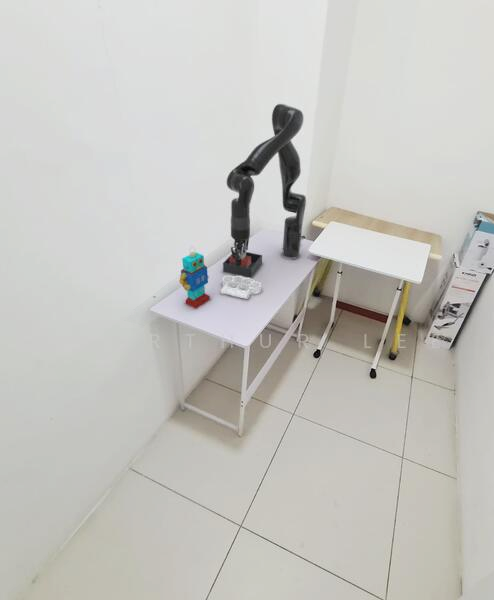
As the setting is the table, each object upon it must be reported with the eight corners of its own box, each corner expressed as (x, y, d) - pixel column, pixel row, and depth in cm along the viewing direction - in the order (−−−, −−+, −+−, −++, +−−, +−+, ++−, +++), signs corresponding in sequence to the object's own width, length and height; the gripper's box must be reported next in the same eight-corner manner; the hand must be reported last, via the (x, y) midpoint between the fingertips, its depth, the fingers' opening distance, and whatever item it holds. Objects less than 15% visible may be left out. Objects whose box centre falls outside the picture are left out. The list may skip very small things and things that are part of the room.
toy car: (229, 265, 140) (229, 254, 138) (233, 260, 144) (233, 249, 141) (247, 269, 139) (247, 258, 136) (251, 264, 143) (251, 253, 140)
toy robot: (192, 310, 134) (186, 255, 119) (181, 304, 136) (174, 250, 122) (212, 297, 142) (209, 244, 128) (202, 292, 145) (197, 239, 130)
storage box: (235, 258, 172) (235, 249, 169) (261, 264, 169) (262, 255, 166) (223, 272, 159) (222, 263, 157) (251, 278, 157) (251, 269, 154)
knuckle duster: (214, 293, 145) (228, 277, 156) (253, 302, 141) (264, 285, 153) (214, 287, 143) (228, 271, 154) (253, 296, 140) (265, 279, 151)
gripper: (242, 234, 125) (242, 273, 135) (255, 221, 136) (254, 258, 146) (223, 230, 126) (225, 269, 136) (238, 217, 138) (238, 254, 148)
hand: (240, 263), depth 141 cm, fingers closed on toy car, 4 cm apart
